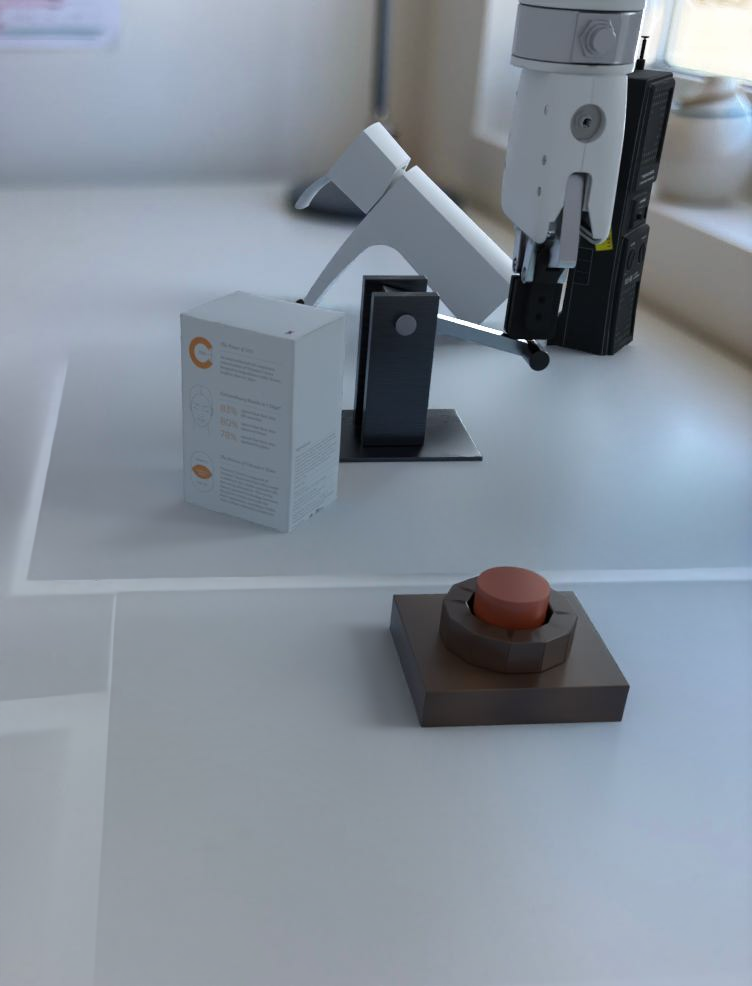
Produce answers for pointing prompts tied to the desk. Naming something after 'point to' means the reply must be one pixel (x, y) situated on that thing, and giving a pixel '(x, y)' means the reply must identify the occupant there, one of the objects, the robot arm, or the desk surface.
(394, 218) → the faucet
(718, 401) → the desk surface
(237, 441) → the small box
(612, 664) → the button block
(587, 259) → the portable radio
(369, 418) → the bracket
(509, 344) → the tap lever
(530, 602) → the button
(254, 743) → the desk surface
